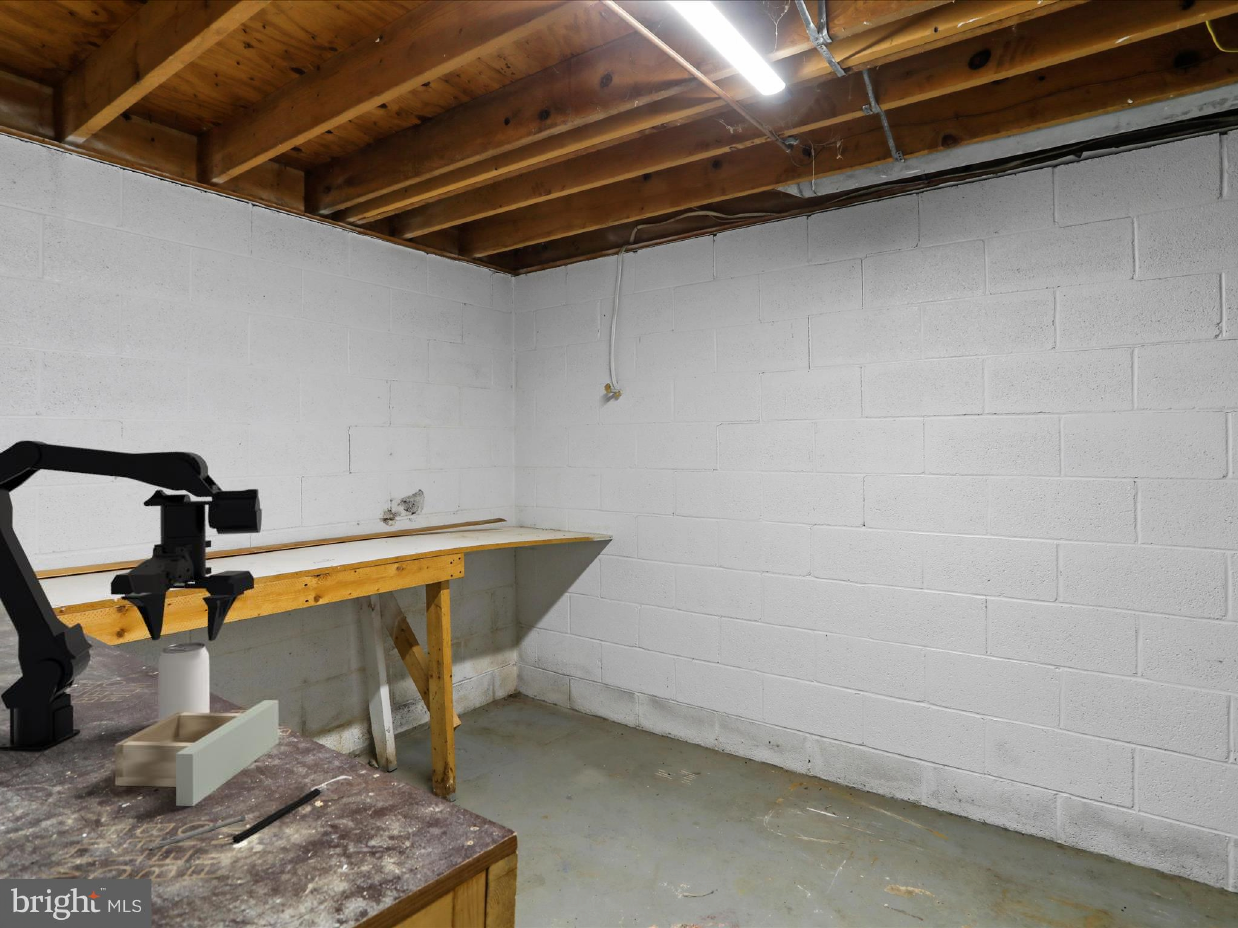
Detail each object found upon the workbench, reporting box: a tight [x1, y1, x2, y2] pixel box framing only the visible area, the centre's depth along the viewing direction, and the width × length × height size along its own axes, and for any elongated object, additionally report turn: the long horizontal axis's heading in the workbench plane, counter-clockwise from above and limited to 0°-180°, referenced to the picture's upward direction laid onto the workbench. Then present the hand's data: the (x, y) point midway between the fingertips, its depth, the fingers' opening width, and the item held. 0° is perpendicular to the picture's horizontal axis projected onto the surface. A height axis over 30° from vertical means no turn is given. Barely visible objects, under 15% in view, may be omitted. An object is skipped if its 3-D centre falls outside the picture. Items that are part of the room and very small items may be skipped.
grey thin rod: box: [151, 812, 247, 851], centre depth 74 cm, size 1×9×1 cm, turn 133°
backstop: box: [175, 699, 280, 807], centre depth 89 cm, size 2×18×6 cm, turn 177°
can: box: [157, 641, 210, 723], centre depth 104 cm, size 6×6×12 cm
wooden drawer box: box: [114, 712, 244, 788], centre depth 90 cm, size 11×11×5 cm
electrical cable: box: [232, 785, 326, 844], centre depth 78 cm, size 12×1×1 cm, turn 160°
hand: (184, 640), depth 104 cm, fingers open, 8 cm apart
